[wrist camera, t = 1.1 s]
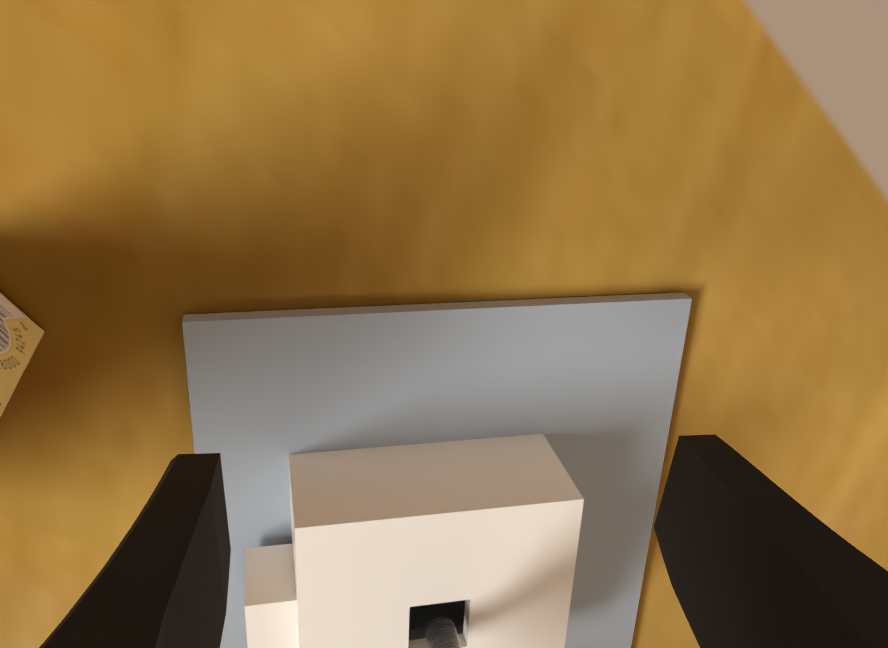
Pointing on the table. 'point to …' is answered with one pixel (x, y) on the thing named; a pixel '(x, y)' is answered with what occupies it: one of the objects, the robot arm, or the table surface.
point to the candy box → (14, 347)
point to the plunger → (442, 634)
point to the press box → (420, 547)
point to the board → (449, 415)
